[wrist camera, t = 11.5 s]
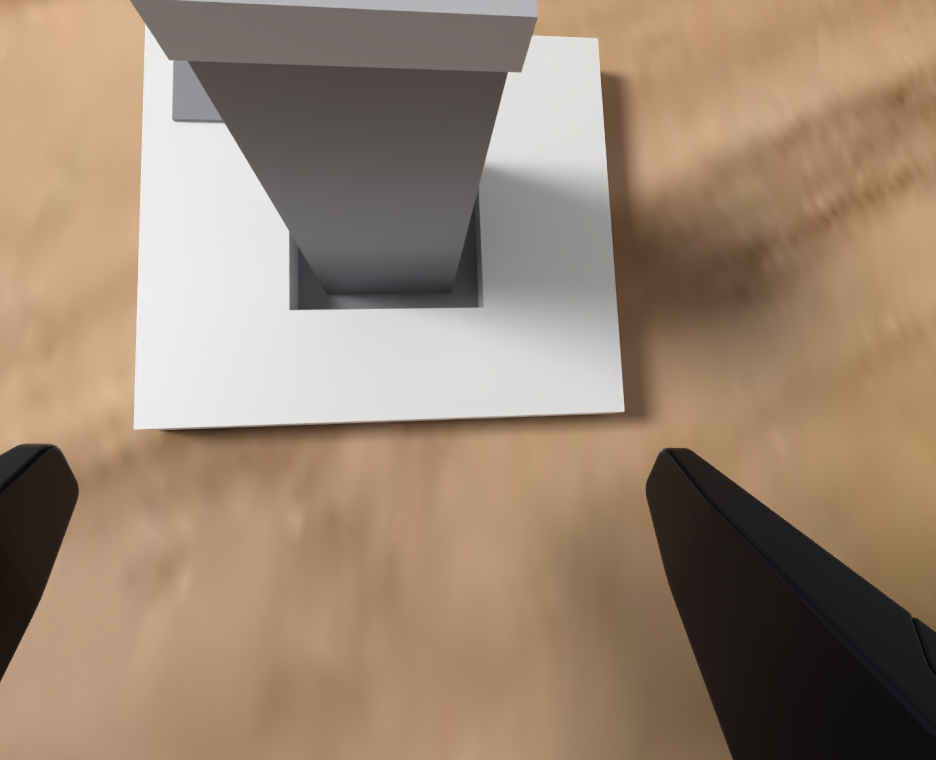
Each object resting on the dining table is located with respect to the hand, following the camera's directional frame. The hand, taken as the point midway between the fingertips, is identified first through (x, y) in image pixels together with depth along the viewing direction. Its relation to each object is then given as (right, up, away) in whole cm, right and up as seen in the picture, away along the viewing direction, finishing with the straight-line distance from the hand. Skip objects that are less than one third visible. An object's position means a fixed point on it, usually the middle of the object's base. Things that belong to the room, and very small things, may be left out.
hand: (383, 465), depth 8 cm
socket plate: (-2, +7, +12) cm, 13 cm away
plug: (-2, +7, +11) cm, 13 cm away
